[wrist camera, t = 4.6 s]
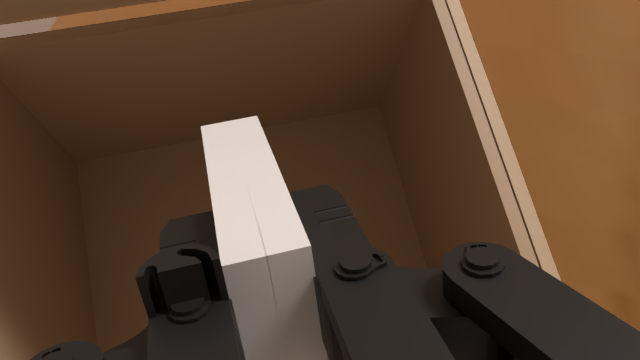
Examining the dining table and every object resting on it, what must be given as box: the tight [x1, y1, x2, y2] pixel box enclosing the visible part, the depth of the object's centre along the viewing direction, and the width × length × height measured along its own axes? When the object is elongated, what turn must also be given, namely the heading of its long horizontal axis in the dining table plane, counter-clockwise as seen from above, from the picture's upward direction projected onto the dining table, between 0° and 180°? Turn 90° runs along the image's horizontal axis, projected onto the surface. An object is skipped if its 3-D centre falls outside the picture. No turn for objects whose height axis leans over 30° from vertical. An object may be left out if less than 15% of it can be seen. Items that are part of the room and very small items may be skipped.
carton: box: [0, 0, 561, 360], centre depth 30 cm, size 23×21×14 cm
